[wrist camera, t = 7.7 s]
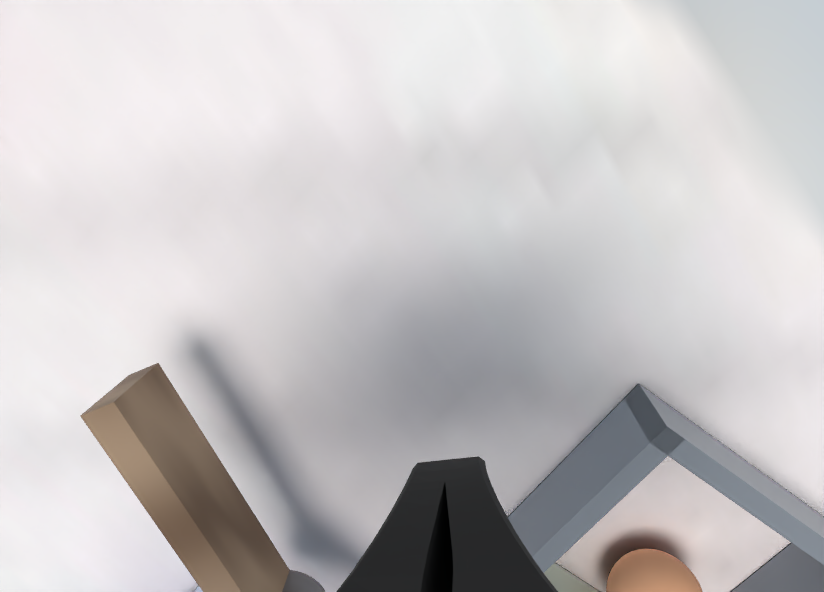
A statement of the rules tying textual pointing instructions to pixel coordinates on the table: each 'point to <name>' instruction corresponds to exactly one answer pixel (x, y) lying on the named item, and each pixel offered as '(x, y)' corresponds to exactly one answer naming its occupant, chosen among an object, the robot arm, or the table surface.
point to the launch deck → (566, 580)
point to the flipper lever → (188, 488)
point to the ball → (651, 573)
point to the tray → (634, 459)
